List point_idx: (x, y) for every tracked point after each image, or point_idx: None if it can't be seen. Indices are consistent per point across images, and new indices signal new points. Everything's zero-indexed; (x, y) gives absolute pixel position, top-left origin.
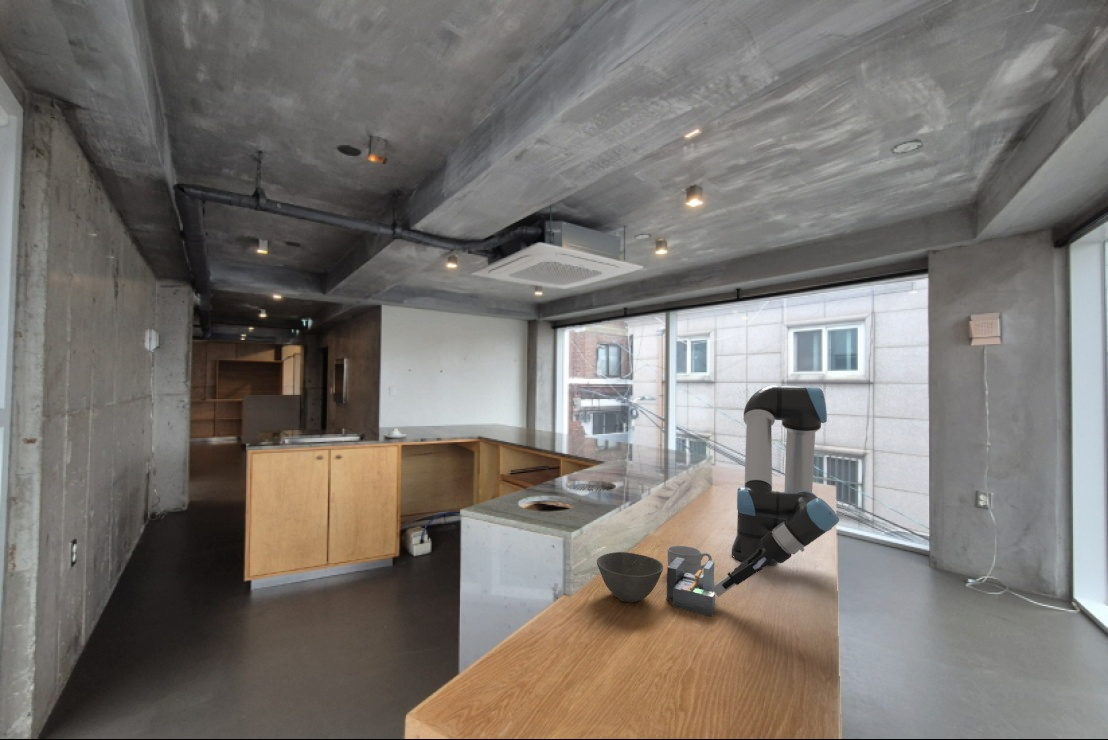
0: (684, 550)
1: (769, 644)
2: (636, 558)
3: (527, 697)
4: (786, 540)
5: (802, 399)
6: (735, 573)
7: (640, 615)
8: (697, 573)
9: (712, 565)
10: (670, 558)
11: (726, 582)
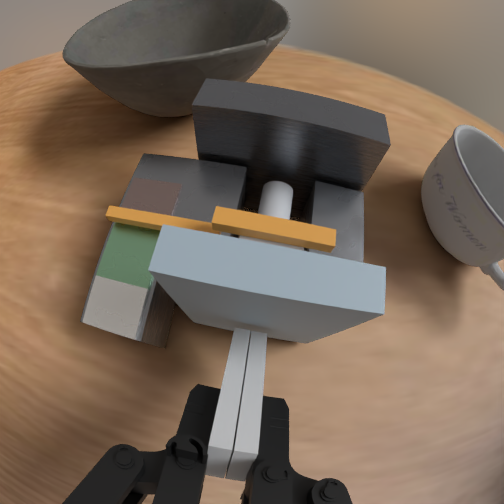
0: None
1: (28, 474)
2: (278, 27)
3: None
4: None
5: None
6: (101, 491)
7: (88, 136)
8: (258, 221)
9: (302, 304)
10: (444, 145)
11: (184, 416)
